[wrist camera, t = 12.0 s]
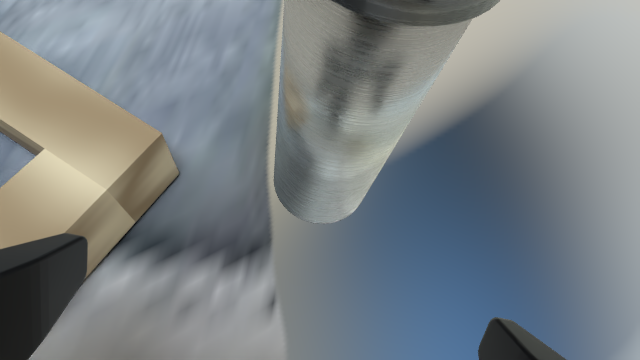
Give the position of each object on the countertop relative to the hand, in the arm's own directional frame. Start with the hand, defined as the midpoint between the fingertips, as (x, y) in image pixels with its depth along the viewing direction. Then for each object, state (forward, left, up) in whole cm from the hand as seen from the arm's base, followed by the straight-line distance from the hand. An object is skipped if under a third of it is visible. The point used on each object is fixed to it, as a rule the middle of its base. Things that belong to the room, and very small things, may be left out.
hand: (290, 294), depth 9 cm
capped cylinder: (+6, +2, -8) cm, 11 cm away
